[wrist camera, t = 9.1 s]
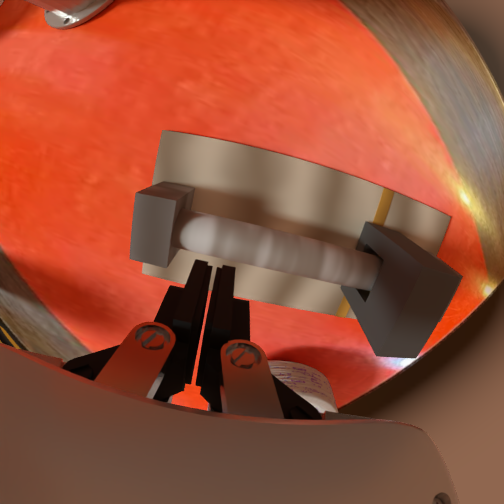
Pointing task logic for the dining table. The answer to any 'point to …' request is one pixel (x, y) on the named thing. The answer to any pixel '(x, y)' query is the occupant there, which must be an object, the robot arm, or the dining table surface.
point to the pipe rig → (269, 223)
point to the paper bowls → (305, 383)
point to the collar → (400, 293)
